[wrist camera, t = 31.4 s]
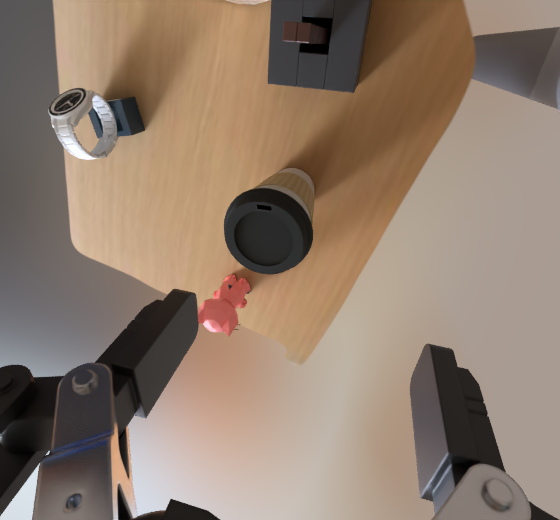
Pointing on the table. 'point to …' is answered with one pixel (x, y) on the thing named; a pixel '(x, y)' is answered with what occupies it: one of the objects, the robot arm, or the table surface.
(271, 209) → the coffee cup
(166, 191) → the table surface
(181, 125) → the table surface
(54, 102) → the watch
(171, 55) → the table surface
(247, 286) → the cat figurine
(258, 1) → the bowl
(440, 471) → the robot arm
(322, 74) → the stand
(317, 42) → the chopsticks
